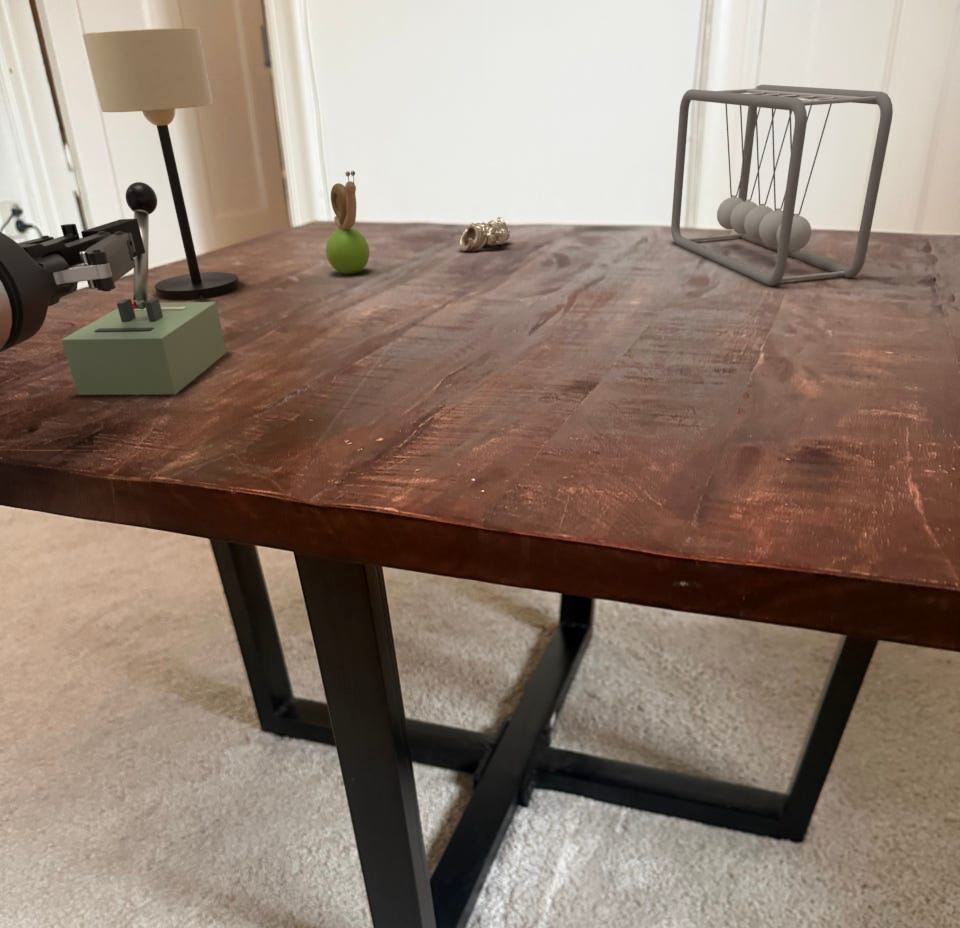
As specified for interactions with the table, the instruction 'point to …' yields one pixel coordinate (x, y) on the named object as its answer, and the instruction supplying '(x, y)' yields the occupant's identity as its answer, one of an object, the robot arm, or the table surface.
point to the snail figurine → (346, 232)
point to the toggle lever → (142, 205)
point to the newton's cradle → (761, 221)
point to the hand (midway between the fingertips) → (132, 236)
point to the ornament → (484, 235)
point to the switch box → (145, 348)
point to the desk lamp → (159, 117)
